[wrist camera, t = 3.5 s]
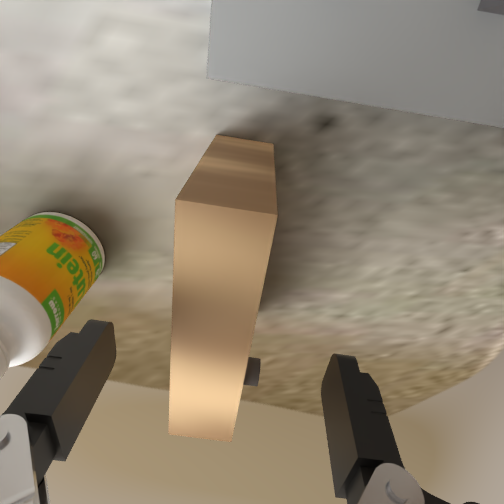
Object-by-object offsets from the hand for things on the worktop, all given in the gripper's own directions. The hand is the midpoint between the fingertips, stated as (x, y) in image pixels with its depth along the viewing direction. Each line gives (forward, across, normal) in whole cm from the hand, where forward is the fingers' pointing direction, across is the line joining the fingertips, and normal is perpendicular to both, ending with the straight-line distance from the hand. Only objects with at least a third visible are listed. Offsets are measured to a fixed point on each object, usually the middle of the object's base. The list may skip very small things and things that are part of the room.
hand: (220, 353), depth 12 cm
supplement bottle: (+9, +11, +3) cm, 15 cm away
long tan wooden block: (+9, +1, 0) cm, 9 cm away
